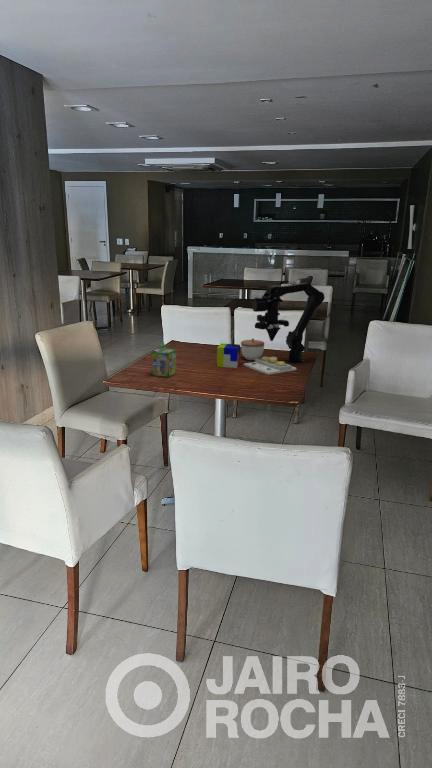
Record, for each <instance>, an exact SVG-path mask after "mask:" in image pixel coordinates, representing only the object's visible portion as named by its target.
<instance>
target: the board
mask: <svg viewBox="0 0 432 768" xmlns="http://www.w3.org/2000/svg"><path fill="white" fill-rule="evenodd" d="M278 361H279V360H277V362H278ZM243 366H244V367H247V368H249V369H252V370H255V371H257V372H260V373H262V374H265V375H268V376H269V375H274V374H275V375H276V374H279V373H280V374H281V373H285V372H291V371H292V372H293V371H297V367H295V366H292V365H291V364H288V363H285V366H282V367H280V366H277V363H275V364H272V363H269V361H262V357H260V358H259V359H255V360H254V361H253V362H246V363H243Z"/></svg>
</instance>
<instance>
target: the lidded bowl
mask: <svg viewBox="0 0 432 768" xmlns="http://www.w3.org/2000/svg"><path fill="white" fill-rule="evenodd" d="M264 350H265V342H264V341H262V340H258V339H255V338H251V339H245V340H242V341H241V342H240V352H241V353H242V356H243V357H244V359H246V360H247V361H255V359H259V358H262V357H263V353H264Z"/></svg>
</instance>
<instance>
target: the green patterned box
mask: <svg viewBox="0 0 432 768" xmlns="http://www.w3.org/2000/svg"><path fill="white" fill-rule="evenodd" d="M159 347H160V348H156V349H154V350H152V351H151V352H150V358H151V376H153V377H154V376H156V377H165V378H169V377H171V376H174V375H175V374H177V349H172V348H171V349H170V348H166V345H165V342H162V343H160V344H159Z"/></svg>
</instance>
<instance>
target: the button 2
mask: <svg viewBox="0 0 432 768" xmlns="http://www.w3.org/2000/svg"><path fill="white" fill-rule="evenodd" d="M277 361H278V362H277V366H280V367H282V366H285V364H286V363H285V362H286V361H282V360H281V361H280V360H277Z"/></svg>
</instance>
